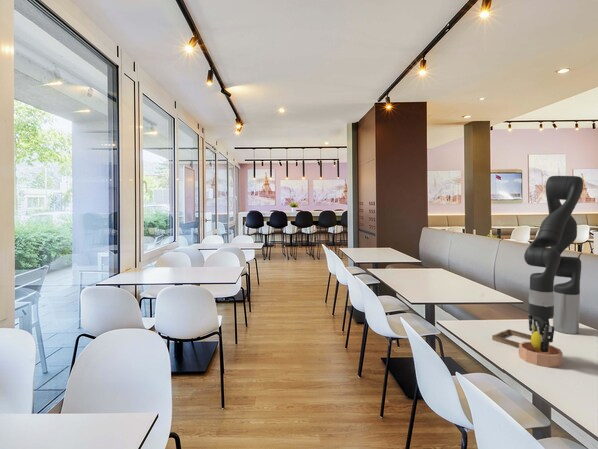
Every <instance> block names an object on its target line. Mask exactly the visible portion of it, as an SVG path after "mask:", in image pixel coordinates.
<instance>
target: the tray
mask: <svg viewBox="0 0 598 449" xmlns="http://www.w3.org/2000/svg"><path fill="white" fill-rule="evenodd" d="M508 335H512V336H515V337H518V338H521V339H526V340H530V341H531V336H532V334H528V333H525V332H521V331H517V330H513V329H509V328H508V329H505V330H502V331H500V332H498V333H495V334H493V335H492V336H491V340H492V341H494V342H495V341H496V342H498V343H500V344H501V343H503V344H505V345H509V346H511V347H514V346H515V347H514V348H517V349H519V343H520V342H519V341H515V340H511V339H508V338H504V337H506V336H508Z"/></svg>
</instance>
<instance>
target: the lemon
mask: <svg viewBox="0 0 598 449" xmlns="http://www.w3.org/2000/svg"><path fill="white" fill-rule="evenodd" d="M542 333H544V332H542ZM531 335H532V336H531V340H530V342H531V344H532V346H533V347H534V348H535V349H537V350H538V351H539V352H541V350H540V345H541V339H540V335H539V334H538V331H535V332H534V333H533V334H532V333H531ZM543 337H544V335H543ZM550 343H551V342H549V344H548V347H549V345H550Z"/></svg>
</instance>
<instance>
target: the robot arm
mask: <svg viewBox="0 0 598 449" xmlns="http://www.w3.org/2000/svg"><path fill="white" fill-rule="evenodd" d="M583 189H584V181H583V178H582V177H581V176H578V175H551V176H549V177H548V178H547V180H546V183H545V196H546V202H547V203H546V204H547V207H548V208H547V209H548V215H547V216H546V217H545V218H544V219H543V220H542V222H541V224H540V227H539V230H538V233H537V235H536V236H535V238H534V239H533V241H532V242H531V243H530V244H529V245H528V247H527V248H526V250H525V252H524V255H523V258H524V262H525V263H526V264H527V265H529V266H530V267H531V266H532V267H539V268H545V270H544V271H543V272H533V273H531V274H530V275H529V276H530V277H529V292H528V315H527V317H528V330H529V332H531V335H532V334H533V333H534V332H535V331H538V334H539V335H540V339H541V345H540V350H541V352H548V344H549V345H550V343H553V342H554V334H555V331H557V332H560V333H564V334H570V335H576V334H577V335H578V334H579V333H580V306H581V304H580V296H581V287H580V286H581V277H582V276H581V275H582V261H581V259H580V257H577V256H575V257H574V256H562V253H563V252H564V251H566V250H567V249H568V248H569V247H570V246H571V245H572V244H573V243H574V242H576V239H577V237H578V224H577V221H576V220H575V219H576V218H574V217H573V215H572V213H573V212H574V210H575V208H576V206H577V204H578V203H579V200H580V198H581V197H582V193H583ZM561 201H564V202H563V204H562V203H561ZM555 277H560V278H569V279H570V280H568V281H566V282H562V283H557V284H556V283H554V282H555ZM550 319H552V325H550ZM542 332H544V333H542ZM543 335H544V337H543ZM549 342H550V343H549Z"/></svg>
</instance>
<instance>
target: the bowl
mask: <svg viewBox="0 0 598 449" xmlns="http://www.w3.org/2000/svg"><path fill="white" fill-rule="evenodd" d="M518 343H519V348H518V356H519V358H520V359H521V360H523V361H525V362H526V363H528V364H532V365H534V366H539V367H547V368H559V367H560V366H562V365H563V357H564V356H563V354H564V353H563V352H562V350H561V349H560V348H558V347H555V346H554V345H550V344H549V347H548V352H539V351H538V350H537V349H535V348H534V347H533V346H532V344H531V341H522V342H518Z"/></svg>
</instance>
